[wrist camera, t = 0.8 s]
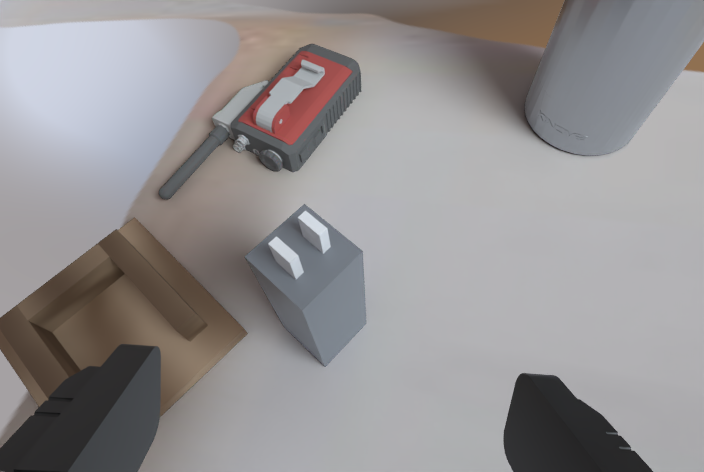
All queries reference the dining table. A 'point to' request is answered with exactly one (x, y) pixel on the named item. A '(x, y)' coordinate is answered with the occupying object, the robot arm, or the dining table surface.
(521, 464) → the robot arm
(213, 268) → the dining table surface
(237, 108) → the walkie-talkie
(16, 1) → the dining table surface
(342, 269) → the connector plug
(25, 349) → the tray
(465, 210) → the dining table surface
